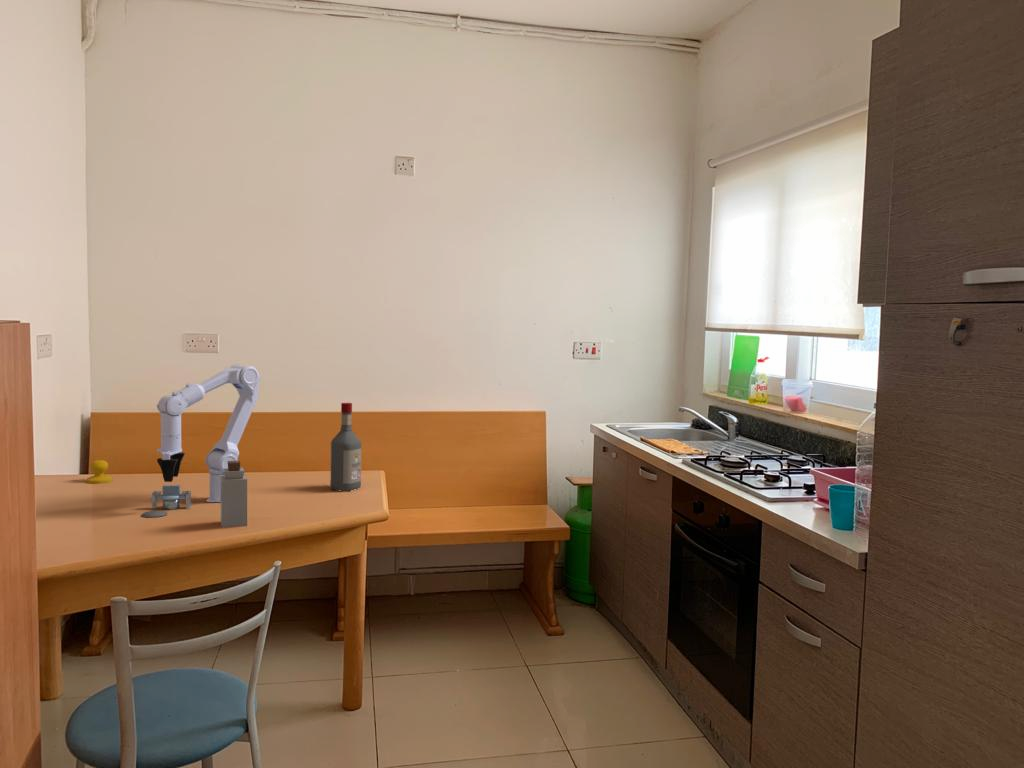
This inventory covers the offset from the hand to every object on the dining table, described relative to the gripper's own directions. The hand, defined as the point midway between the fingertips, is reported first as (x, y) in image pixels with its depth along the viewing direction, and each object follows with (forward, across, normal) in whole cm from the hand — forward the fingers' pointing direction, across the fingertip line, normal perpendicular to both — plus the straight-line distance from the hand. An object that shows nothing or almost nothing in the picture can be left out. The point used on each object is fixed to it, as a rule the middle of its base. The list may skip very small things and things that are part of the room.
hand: (171, 479), depth 241 cm
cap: (+6, 0, 0) cm, 6 cm away
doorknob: (+9, -41, -32) cm, 53 cm away
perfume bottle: (+9, +20, +21) cm, 30 cm away
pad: (+9, +8, -3) cm, 12 cm away
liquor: (+9, -24, +52) cm, 58 cm away
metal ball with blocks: (+9, 0, 0) cm, 9 cm away
